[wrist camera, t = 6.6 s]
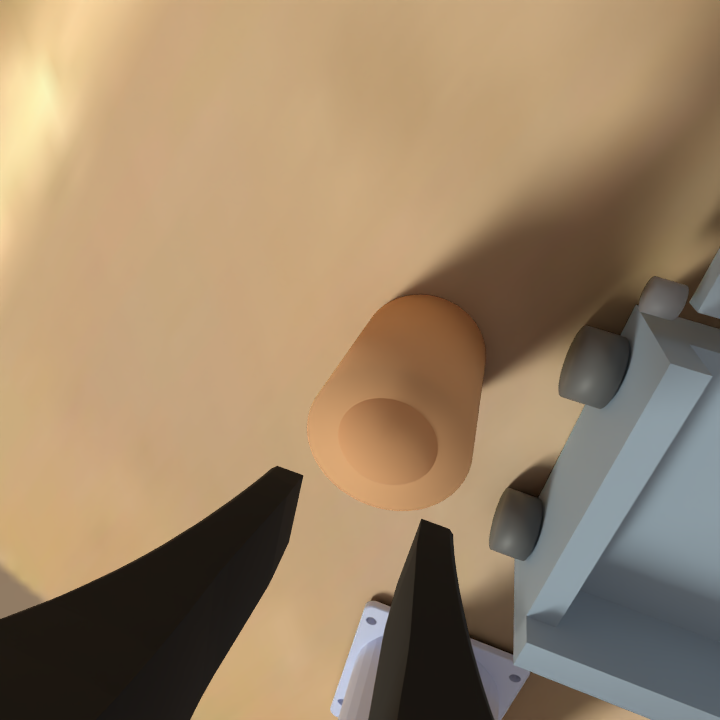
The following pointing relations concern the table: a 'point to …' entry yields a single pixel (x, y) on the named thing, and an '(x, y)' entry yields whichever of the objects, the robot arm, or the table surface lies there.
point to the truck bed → (628, 521)
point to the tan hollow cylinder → (402, 406)
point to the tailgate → (709, 291)
